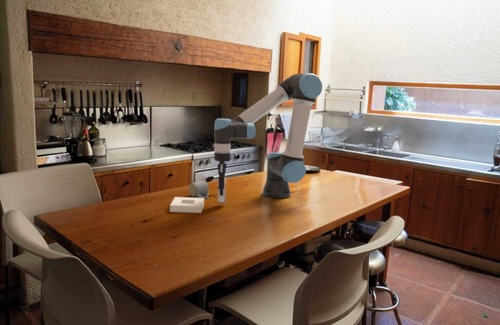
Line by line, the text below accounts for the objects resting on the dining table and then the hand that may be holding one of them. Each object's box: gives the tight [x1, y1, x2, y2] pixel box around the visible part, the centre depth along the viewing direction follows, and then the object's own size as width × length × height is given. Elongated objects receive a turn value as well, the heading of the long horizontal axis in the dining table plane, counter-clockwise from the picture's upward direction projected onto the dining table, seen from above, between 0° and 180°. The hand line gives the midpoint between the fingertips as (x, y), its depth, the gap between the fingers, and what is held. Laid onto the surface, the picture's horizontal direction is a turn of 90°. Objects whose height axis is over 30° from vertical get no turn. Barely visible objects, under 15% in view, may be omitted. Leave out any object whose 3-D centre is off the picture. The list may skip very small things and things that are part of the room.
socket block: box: [169, 196, 205, 214], centre depth 191 cm, size 14×14×3 cm
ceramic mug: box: [188, 180, 210, 200], centre depth 211 cm, size 11×8×8 cm
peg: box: [216, 176, 227, 205], centre depth 195 cm, size 4×4×12 cm
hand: (221, 200), depth 196 cm, fingers closed on peg, 4 cm apart
